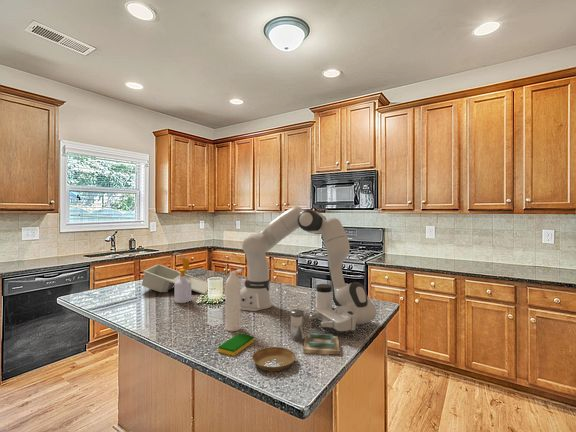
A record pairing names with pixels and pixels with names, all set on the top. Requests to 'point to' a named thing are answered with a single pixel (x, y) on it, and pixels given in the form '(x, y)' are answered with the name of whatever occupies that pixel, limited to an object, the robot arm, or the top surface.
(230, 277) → the white spray bottle
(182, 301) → the soap bottle
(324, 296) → the jar
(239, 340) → the dish sponge
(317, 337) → the post base
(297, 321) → the salt shaker
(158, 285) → the kitchen sink
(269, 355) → the plant saucer
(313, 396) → the top surface
